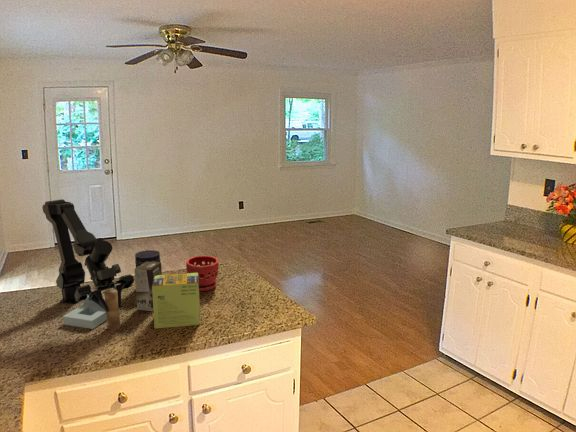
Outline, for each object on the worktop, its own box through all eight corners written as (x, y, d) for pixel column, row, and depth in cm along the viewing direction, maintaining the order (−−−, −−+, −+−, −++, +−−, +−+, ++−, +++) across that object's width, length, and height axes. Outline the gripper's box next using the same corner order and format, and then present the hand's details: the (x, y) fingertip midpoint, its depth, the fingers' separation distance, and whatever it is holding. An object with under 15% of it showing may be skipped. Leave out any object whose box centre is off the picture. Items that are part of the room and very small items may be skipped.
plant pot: (181, 292, 180) (180, 264, 178) (195, 280, 193) (194, 254, 190) (212, 295, 178) (211, 266, 175) (223, 283, 190) (222, 256, 187)
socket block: (63, 324, 152) (61, 308, 151) (87, 309, 163) (86, 294, 162) (93, 329, 149) (91, 312, 147) (115, 314, 160) (114, 298, 159)
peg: (105, 329, 149) (101, 293, 146) (112, 324, 152) (109, 288, 150) (115, 330, 148) (112, 294, 145) (122, 325, 151) (119, 290, 149)
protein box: (200, 325, 152) (198, 282, 149) (154, 329, 149) (151, 286, 146) (200, 312, 162) (198, 272, 159) (156, 315, 159) (153, 275, 156)
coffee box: (152, 311, 162) (149, 269, 159) (136, 309, 164) (133, 268, 160) (164, 301, 171) (161, 261, 168) (148, 299, 172) (146, 260, 169)
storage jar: (152, 282, 191) (150, 248, 187) (167, 287, 185) (165, 253, 182) (132, 289, 183) (129, 254, 180) (147, 294, 177) (144, 259, 174)
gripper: (73, 264, 141) (90, 306, 136) (130, 252, 154) (147, 290, 149) (67, 280, 148) (83, 322, 143) (121, 267, 161) (138, 305, 156)
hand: (114, 309), depth 148 cm, fingers closed on peg, 4 cm apart
